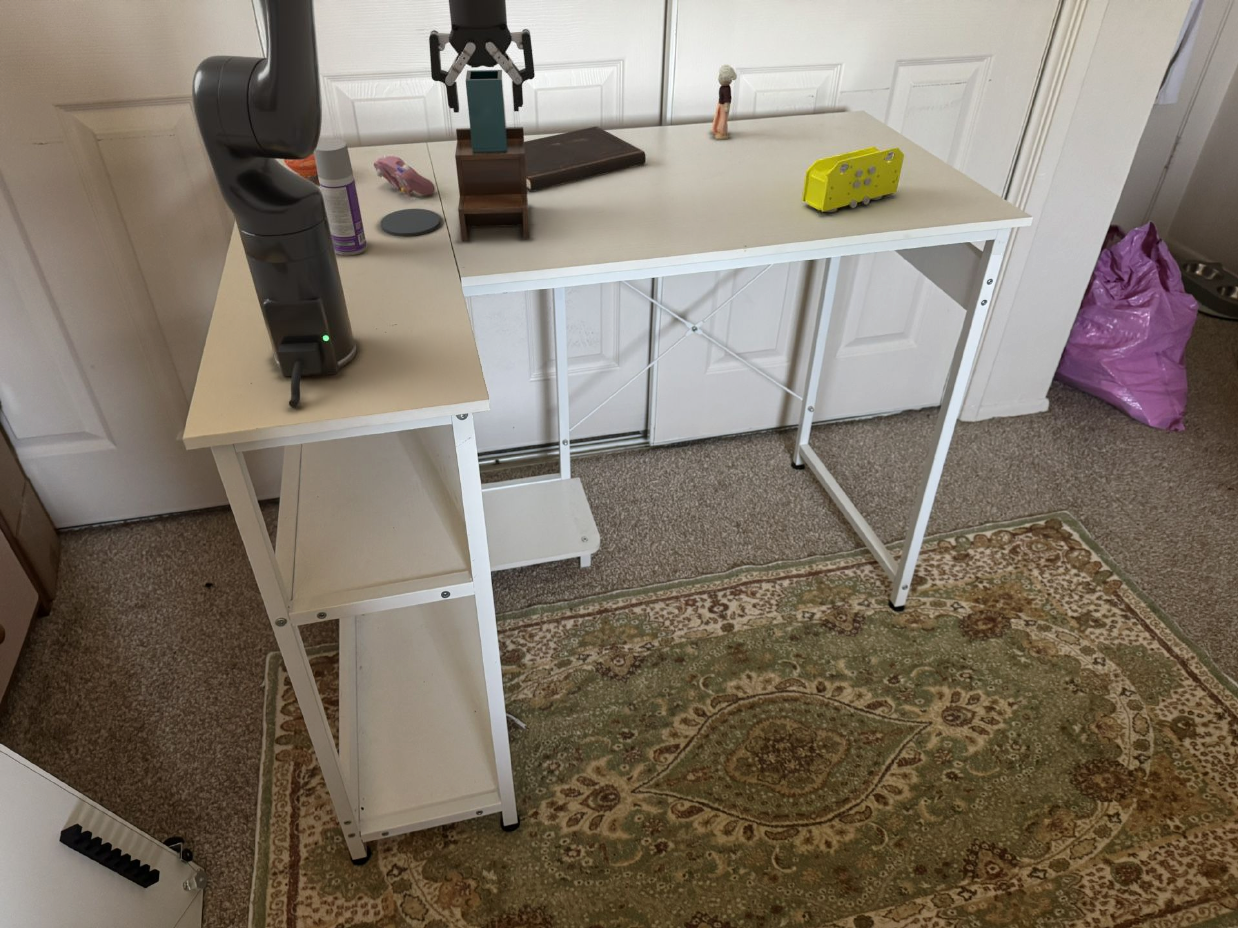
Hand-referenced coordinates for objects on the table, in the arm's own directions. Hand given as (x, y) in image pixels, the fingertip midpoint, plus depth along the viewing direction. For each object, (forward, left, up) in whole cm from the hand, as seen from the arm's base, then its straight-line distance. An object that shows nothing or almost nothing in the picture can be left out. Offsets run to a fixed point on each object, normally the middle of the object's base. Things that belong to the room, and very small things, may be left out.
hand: (486, 110), depth 125 cm
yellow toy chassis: (+2, -57, -16) cm, 59 cm away
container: (-9, +21, -16) cm, 28 cm away
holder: (0, 0, -5) cm, 5 cm away
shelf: (-2, 0, -16) cm, 16 cm away
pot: (+19, +31, -16) cm, 40 cm away
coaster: (-1, +13, -16) cm, 21 cm away
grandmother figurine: (+34, -42, -16) cm, 56 cm away
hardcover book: (+22, -12, -16) cm, 30 cm away
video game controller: (+12, +15, -16) cm, 25 cm away
